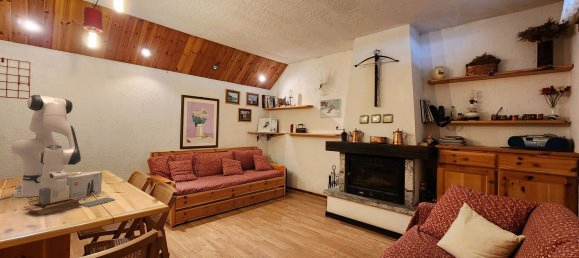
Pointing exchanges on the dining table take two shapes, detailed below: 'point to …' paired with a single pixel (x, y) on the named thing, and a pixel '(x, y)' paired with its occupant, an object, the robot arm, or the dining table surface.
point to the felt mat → (97, 202)
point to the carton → (53, 205)
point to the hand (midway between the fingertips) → (52, 196)
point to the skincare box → (84, 184)
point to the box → (47, 195)
